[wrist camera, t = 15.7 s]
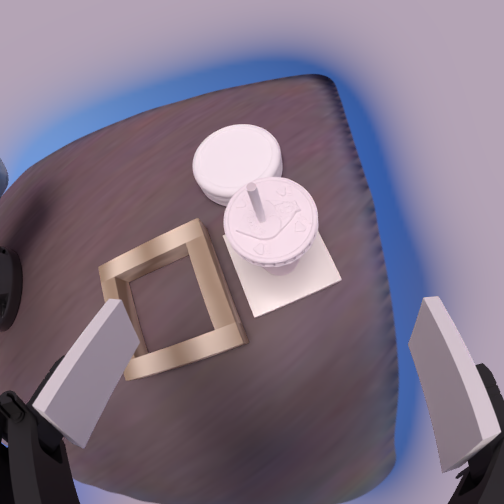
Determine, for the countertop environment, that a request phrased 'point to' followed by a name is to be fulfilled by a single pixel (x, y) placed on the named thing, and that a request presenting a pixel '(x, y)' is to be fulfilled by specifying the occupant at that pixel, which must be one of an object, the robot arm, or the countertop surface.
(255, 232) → the smoothie
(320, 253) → the tile
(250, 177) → the coaster
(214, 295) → the square wooden frame
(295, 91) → the countertop surface
